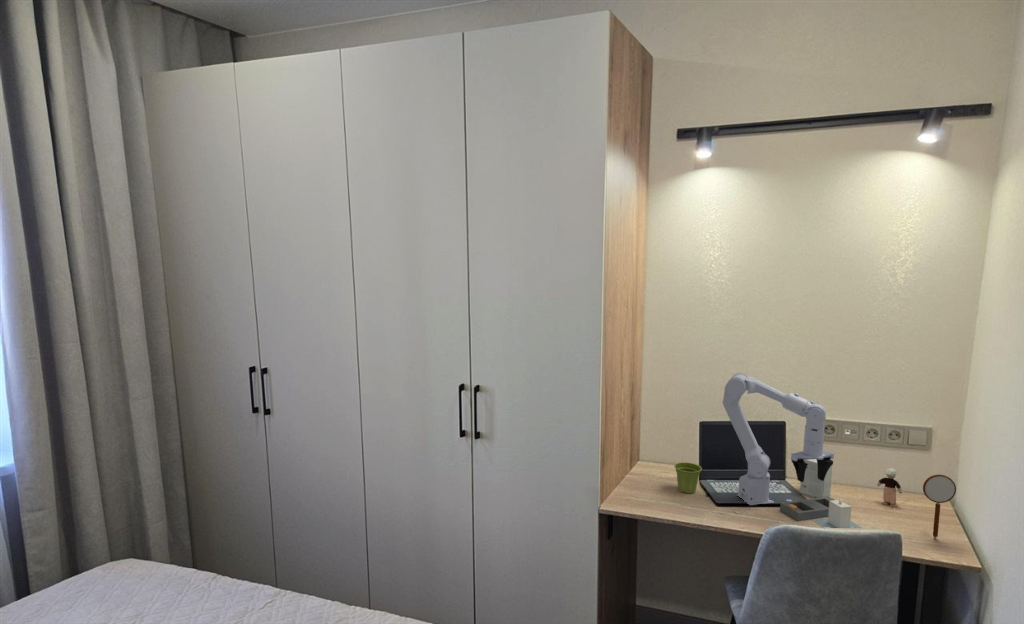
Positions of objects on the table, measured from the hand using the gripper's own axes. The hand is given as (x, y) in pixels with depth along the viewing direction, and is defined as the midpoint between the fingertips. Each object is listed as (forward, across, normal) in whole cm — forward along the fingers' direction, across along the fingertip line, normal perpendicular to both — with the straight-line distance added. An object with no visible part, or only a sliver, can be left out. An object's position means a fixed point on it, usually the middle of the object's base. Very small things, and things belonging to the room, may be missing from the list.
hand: (810, 480), depth 195 cm
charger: (+10, +1, -12) cm, 16 cm away
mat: (+10, +1, -13) cm, 16 cm away
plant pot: (+11, -32, +22) cm, 41 cm away
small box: (+10, +11, +11) cm, 18 cm away
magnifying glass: (+10, +24, -24) cm, 36 cm away
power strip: (+11, 0, -3) cm, 11 cm away
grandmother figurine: (+10, +31, 0) cm, 33 cm away
